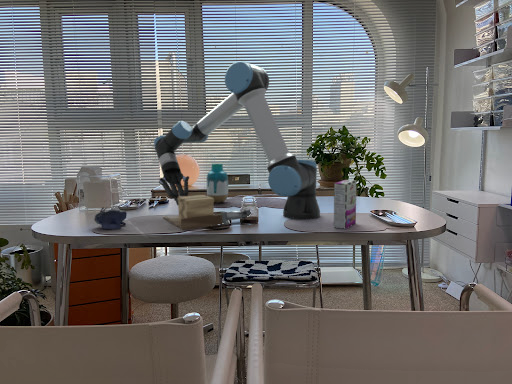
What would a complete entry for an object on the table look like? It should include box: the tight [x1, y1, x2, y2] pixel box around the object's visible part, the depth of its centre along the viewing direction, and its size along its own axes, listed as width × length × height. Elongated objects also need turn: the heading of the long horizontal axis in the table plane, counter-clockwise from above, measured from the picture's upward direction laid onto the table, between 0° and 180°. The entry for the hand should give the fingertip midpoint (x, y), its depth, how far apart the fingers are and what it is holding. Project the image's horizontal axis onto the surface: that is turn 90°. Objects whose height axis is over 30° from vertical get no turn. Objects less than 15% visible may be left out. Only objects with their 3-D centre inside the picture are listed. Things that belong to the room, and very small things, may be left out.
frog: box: [93, 206, 128, 230], centre depth 147 cm, size 10×12×8 cm
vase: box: [206, 163, 229, 204], centre depth 197 cm, size 11×11×19 cm
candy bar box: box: [333, 179, 357, 230], centre depth 146 cm, size 11×5×16 cm, turn 148°
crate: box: [177, 194, 215, 224], centre depth 148 cm, size 10×10×10 cm
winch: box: [219, 208, 252, 224], centre depth 153 cm, size 15×6×5 cm, turn 119°
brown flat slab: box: [163, 213, 223, 231], centre depth 153 cm, size 23×15×4 cm, turn 29°
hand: (184, 210), depth 159 cm, fingers closed
